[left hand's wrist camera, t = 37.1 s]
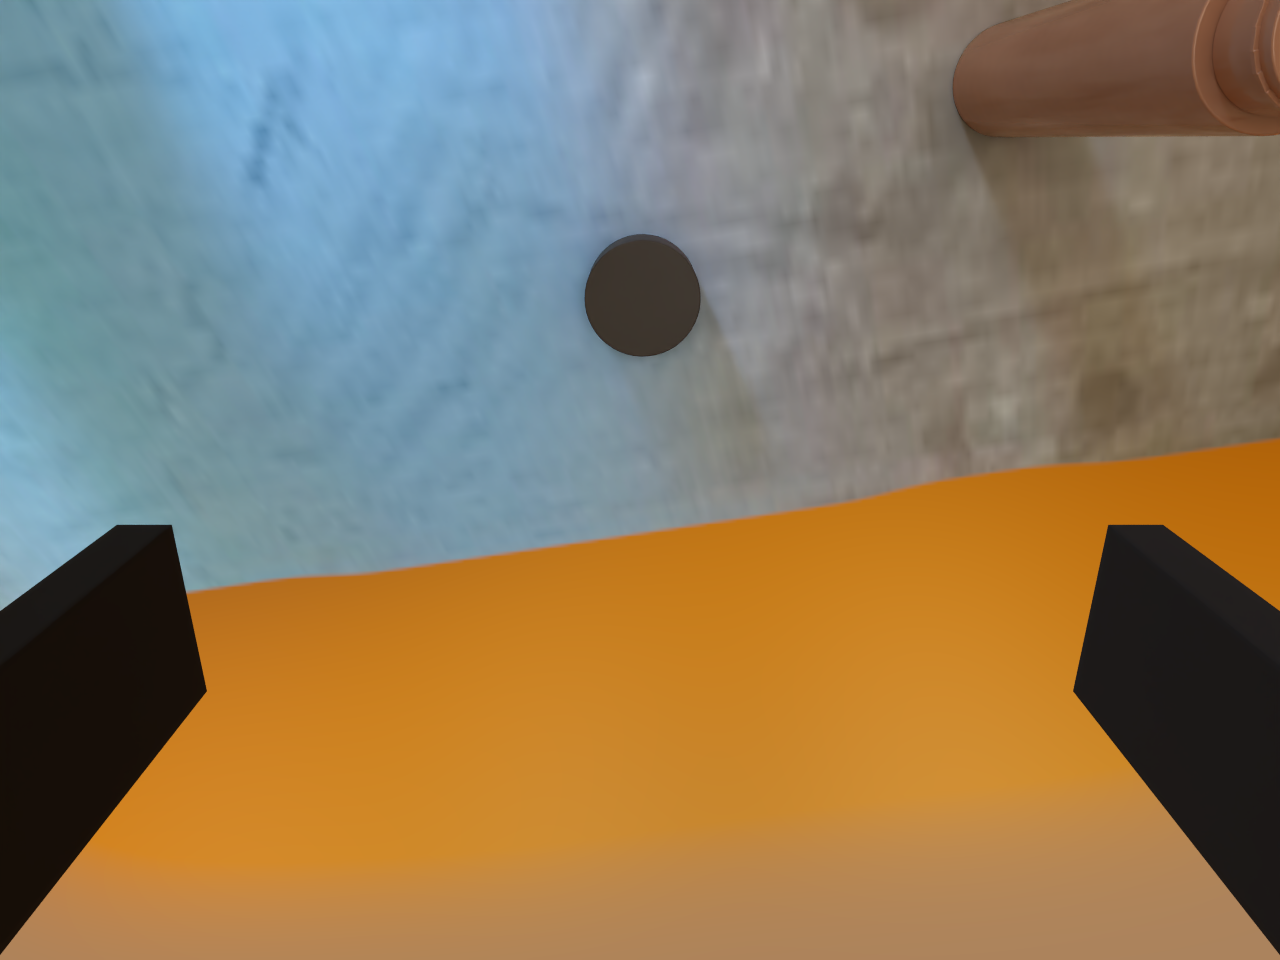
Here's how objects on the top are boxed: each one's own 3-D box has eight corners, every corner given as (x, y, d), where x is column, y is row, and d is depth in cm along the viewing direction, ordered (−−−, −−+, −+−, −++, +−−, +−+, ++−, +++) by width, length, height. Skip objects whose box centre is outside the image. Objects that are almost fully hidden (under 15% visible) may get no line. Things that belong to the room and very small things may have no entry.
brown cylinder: (1069, 111, 38) (1473, 86, 20) (967, 154, 38) (1266, 168, 20) (1046, 2, 36) (1459, -137, 18) (940, 48, 37) (1236, -41, 19)
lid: (711, 252, 40) (715, 260, 38) (678, 357, 42) (680, 370, 40) (604, 219, 40) (602, 224, 37) (575, 327, 41) (571, 338, 39)
